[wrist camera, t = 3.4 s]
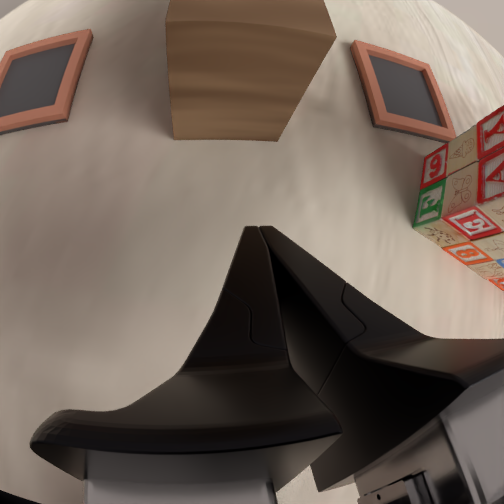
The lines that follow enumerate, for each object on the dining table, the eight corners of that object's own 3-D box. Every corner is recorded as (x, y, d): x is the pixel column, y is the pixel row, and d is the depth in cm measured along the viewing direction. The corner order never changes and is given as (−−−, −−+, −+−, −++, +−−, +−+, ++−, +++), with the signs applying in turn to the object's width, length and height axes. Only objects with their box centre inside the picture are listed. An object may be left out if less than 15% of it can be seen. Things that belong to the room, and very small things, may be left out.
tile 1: (67, 121, 15) (62, 113, 14) (-22, 140, 14) (-28, 134, 13) (93, 37, 16) (90, 28, 15) (10, 58, 15) (6, 51, 14)
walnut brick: (277, 142, 18) (336, 36, 9) (174, 140, 17) (165, 21, 8) (261, 6, 19) (287, -78, 11) (188, 2, 18) (195, -86, 10)
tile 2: (449, 144, 20) (457, 139, 19) (373, 126, 19) (380, 120, 18) (423, 70, 21) (429, 64, 20) (350, 47, 20) (354, 39, 19)
